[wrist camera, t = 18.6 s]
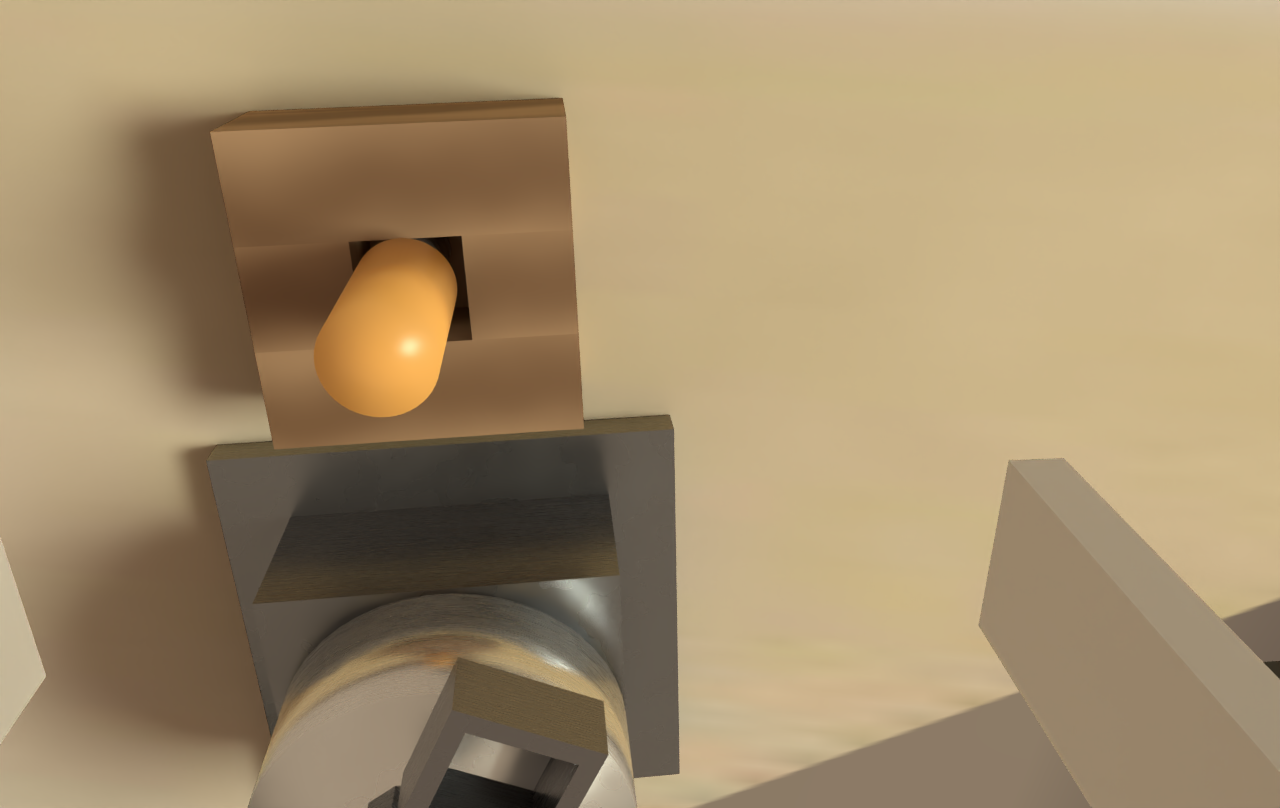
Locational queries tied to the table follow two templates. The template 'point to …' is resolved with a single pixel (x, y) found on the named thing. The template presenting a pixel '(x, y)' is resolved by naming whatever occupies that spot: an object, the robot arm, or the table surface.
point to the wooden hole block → (410, 208)
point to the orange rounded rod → (389, 328)
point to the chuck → (450, 714)
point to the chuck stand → (466, 546)
